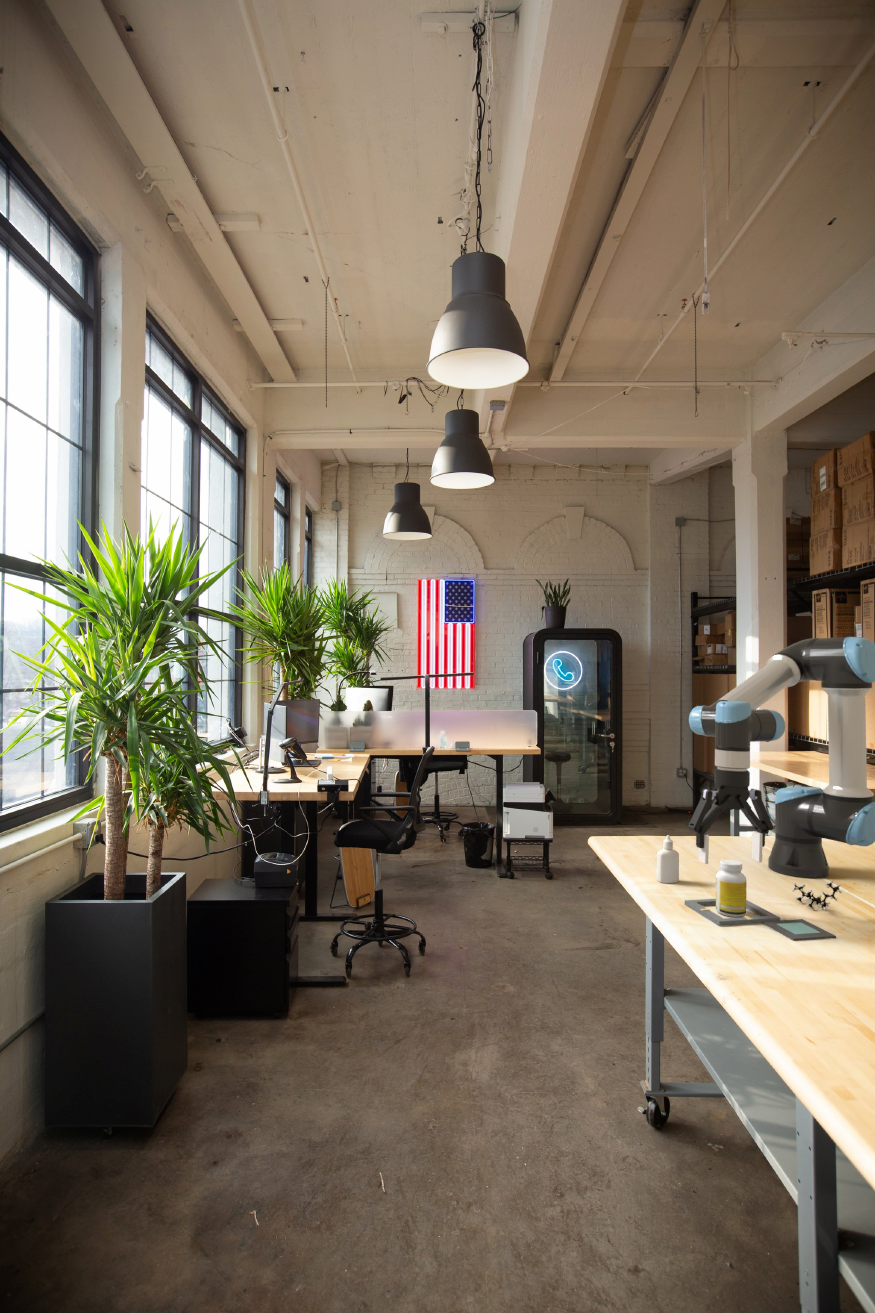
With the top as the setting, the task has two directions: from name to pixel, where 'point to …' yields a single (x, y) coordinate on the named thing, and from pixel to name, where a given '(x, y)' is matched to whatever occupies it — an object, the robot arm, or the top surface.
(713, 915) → the socket plate
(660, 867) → the eye dropper bottle
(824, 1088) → the top surface
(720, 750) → the robot arm
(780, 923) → the mat
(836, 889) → the molecular model
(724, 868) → the pill bottle
